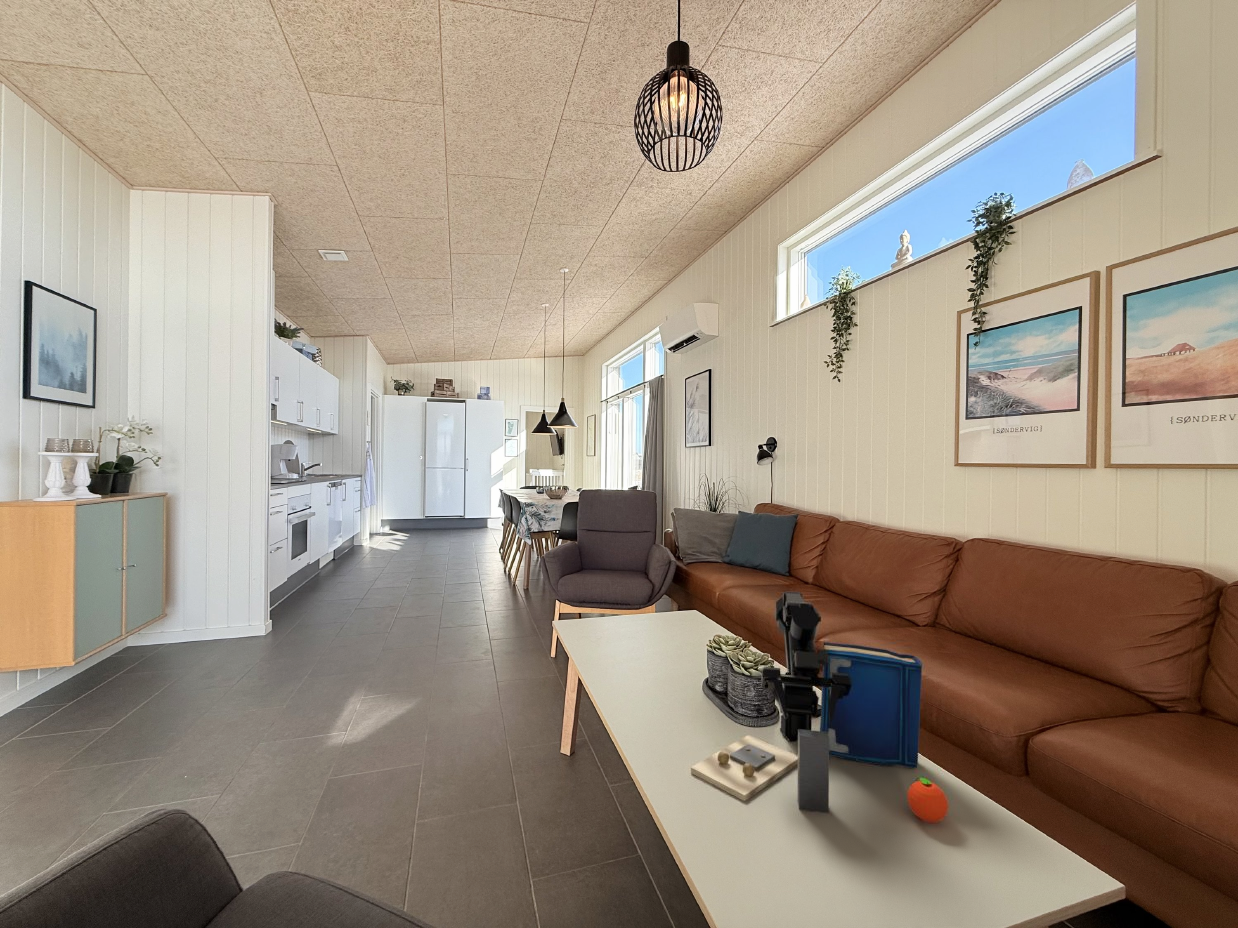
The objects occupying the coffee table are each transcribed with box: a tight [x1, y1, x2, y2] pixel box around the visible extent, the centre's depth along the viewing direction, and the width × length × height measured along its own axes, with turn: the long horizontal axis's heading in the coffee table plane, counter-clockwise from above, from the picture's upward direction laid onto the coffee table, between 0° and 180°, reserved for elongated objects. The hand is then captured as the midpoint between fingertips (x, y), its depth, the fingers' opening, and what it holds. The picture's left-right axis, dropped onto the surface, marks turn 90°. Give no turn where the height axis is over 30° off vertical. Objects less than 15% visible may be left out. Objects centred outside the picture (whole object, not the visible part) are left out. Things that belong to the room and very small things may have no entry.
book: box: [819, 642, 923, 769], centre depth 130 cm, size 22×7×25 cm, turn 71°
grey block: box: [797, 729, 830, 815], centre depth 112 cm, size 6×6×14 cm
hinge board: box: [690, 734, 798, 802], centre depth 125 cm, size 22×14×3 cm, turn 133°
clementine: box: [906, 777, 949, 823], centre depth 108 cm, size 8×7×7 cm
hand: (808, 720), depth 119 cm, fingers open, 9 cm apart
